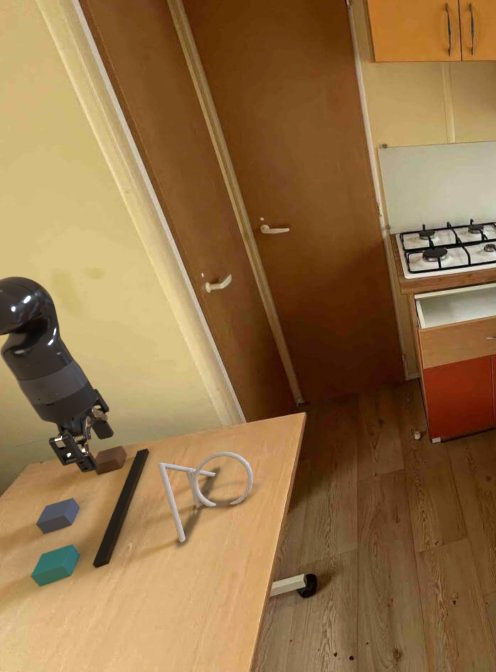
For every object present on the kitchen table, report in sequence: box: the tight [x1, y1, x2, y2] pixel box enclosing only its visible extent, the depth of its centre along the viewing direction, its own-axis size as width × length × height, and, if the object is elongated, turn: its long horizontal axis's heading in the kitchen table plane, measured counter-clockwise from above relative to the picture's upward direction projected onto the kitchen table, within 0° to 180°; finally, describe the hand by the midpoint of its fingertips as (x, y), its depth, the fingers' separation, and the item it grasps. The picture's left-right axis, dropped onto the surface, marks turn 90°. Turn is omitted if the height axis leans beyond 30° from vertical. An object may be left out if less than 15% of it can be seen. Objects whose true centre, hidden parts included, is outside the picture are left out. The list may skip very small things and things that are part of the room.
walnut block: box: [94, 445, 128, 476], centre depth 102 cm, size 4×4×4 cm
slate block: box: [35, 497, 81, 535], centre depth 90 cm, size 4×4×4 cm
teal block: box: [30, 543, 81, 587], centre depth 81 cm, size 4×4×4 cm
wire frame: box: [157, 451, 254, 543], centre depth 95 cm, size 18×13×16 cm
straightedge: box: [92, 448, 150, 569], centre depth 94 cm, size 2×30×2 cm, turn 25°
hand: (99, 452), depth 81 cm, fingers open, 8 cm apart
